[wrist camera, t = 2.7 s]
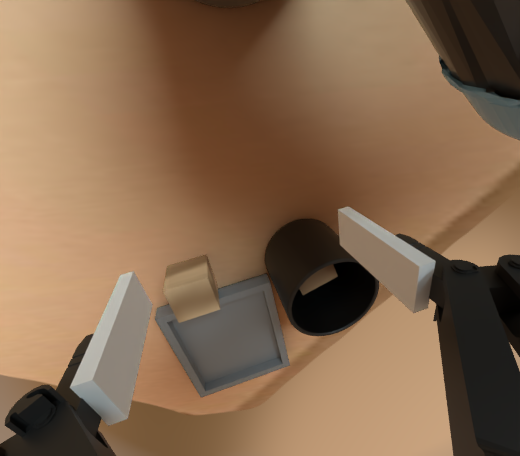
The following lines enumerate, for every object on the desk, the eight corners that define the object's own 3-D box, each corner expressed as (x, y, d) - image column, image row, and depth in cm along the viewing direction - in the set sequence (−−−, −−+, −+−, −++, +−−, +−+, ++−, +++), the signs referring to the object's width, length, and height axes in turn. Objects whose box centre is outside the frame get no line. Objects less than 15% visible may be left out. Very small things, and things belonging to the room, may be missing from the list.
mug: (309, 300, 35) (341, 355, 27) (248, 259, 30) (267, 314, 22) (357, 254, 34) (407, 299, 26) (302, 202, 28) (344, 239, 20)
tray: (157, 308, 30) (154, 319, 28) (266, 273, 31) (270, 282, 30) (200, 385, 38) (201, 397, 36) (286, 355, 39) (289, 365, 38)
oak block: (167, 265, 28) (162, 291, 24) (206, 254, 28) (207, 277, 24) (181, 294, 30) (179, 322, 26) (217, 283, 30) (220, 309, 27)
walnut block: (276, 246, 29) (288, 268, 26) (309, 228, 29) (326, 247, 25) (289, 272, 32) (302, 295, 28) (320, 255, 32) (338, 276, 28)
